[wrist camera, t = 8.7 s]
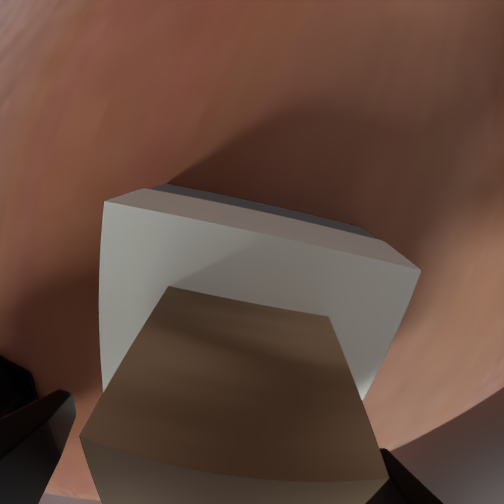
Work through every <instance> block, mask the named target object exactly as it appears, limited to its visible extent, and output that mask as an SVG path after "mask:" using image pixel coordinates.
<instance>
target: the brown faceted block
mask: <svg viewBox="0 0 504 504" xmlns="http://www.w3.org/2000/svg"><path fill="white" fill-rule="evenodd" d="M79 437H80V441H81V444H82V447H83V451H84V454H85V457H86V460H87V463H88V466H89V469H90V472H91V475H92V478H93V481H94V484H95V486H96V489H97V492H98V494H99V497H100V499H101V502H102V504H365V503H366V502H367V501H368V500H369V499H370V498H371V497H372V496H373V495H374V494H375V493H376V492H377V491H378V490H379V489H380V488H381V487H382V486H383V485H384V483H385V482H386V481H387V480H388V479H389V476H388V473H387V470H386V467H385V464H384V461H383V458H382V455H381V452H380V449H379V446H378V444H377V441H376V438H375V435H374V432H373V430H372V427H371V424H370V421H369V419H368V416H367V413H366V411H365V408H364V405H363V402H362V400H361V397H360V395H359V392H358V389H357V387H356V384H355V381H354V379H353V376H352V374H351V371H350V369H349V366H348V363H347V361H346V358H345V356H344V353H343V351H342V348H341V346H340V343H339V341H338V338H337V336H336V333H335V331H334V328H333V326H332V324H331V321H330V319H329V317H328V316H322V315H316V314H310V313H304V312H298V311H293V310H287V309H281V308H276V307H270V306H265V305H260V304H254V303H249V302H244V301H239V300H234V299H229V298H224V297H219V296H214V295H209V294H204V293H199V292H194V291H190V290H185V289H180V288H176V287H171V286H168V287H167V289H166V290H165V292H164V294H163V295H162V297H161V298H160V300H159V301H158V303H157V305H156V306H155V308H154V309H153V311H152V312H151V314H150V316H149V317H148V319H147V320H146V322H145V324H144V325H143V327H142V329H141V330H140V332H139V333H138V335H137V337H136V338H135V340H134V342H133V343H132V345H131V347H130V348H129V350H128V351H127V353H126V355H125V356H124V358H123V360H122V362H121V363H120V365H119V367H118V368H117V370H116V372H115V373H114V375H113V377H112V378H111V380H110V382H109V384H108V385H107V387H106V389H105V391H104V392H103V394H102V396H101V398H100V399H99V401H98V403H97V405H96V406H95V408H94V410H93V412H92V414H91V415H90V417H89V419H88V421H87V423H86V424H85V426H84V428H83V430H82V432H81V434H80V435H79Z"/></svg>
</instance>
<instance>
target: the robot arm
mask: <svg viewBox="0 0 504 504" xmlns="http://www.w3.org/2000/svg"><path fill="white" fill-rule="evenodd" d="M75 417H76V409H75V404H74V399H73V395H72V394H71V393H69V392H67V391H64V390H62V389H59V390H56V391H54V392H52V393H51V394H49V395H47V396H45V397H43V398H41V399H39V400H38V397H37V394H36V390H35V386H34V383H33V379H32V376H31V374H30V373H29V372H28V371H27V370H25V369H23V368H21V367H19V366H17V365H15V364H13V363H11V362H9V361H7V360H5V359H4V358H2V357H0V504H38V503H39V501H40V499H41V497H42V495H43V493H44V491H45V488H46V486H47V484H48V482H49V480H50V478H51V476H52V474H53V472H54V470H55V468H56V466H57V464H58V462H59V460H60V458H61V455H62V453H63V450H64V447H65V444H66V441H67V439H68V436H69V433H70V431H71V428H72V425H73V423H74V420H75ZM379 449H380V452H381V455H382V458H383V461H384V464H385V467H386V470H387V473H388V476H389V479H388V480H387V481H386V482H385V483H384V485H383V486H382V487H381V488H380V489H379V490H378V491H377V492H376V493H375V494H374V495H373V496H372V497H371V498H370V499H369V500H368V501H367V502H366V503H365V504H443V503H442V502H441V501H440V500H439V499H438V498H437V497H436V496H435V495H434V494H432V492H431V491H429V490H428V489H427V488H426V487H425V486H424V485H423V484H422V483H421V482H420V481H419V480H418V479H417V478H416V477H415V476H414V475H413V474H412V473H411V472H410V471H409V470H408V469H407V468H406V467H405V466H404V465H402V464H401V463H400V462H399V461H398V460H397V459H396V458H395V457H394V456H393V455H392V454H391V453H390V452H389V451H388V450H387V449H385V448H379Z"/></svg>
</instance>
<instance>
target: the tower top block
mask: <svg viewBox="0 0 504 504" xmlns="http://www.w3.org/2000/svg"><path fill="white" fill-rule="evenodd" d="M420 273H421V270H420V269H419V268H418V267H417V266H415V265H414V264H413V263H412V262H410V261H409V260H408V259H407V258H405V257H404V256H403V255H401V254H400V253H399V252H398V251H396V250H395V249H394V248H392V247H391V246H390V245H388V244H387V243H386V242H384V241H382V240H378V239H374V238H370V237H366V236H362V235H358V234H354V233H350V232H346V231H342V230H338V229H334V228H330V227H326V226H322V225H317V224H313V223H309V222H305V221H300V220H296V219H292V218H287V217H283V216H279V215H274V214H270V213H265V212H261V211H256V210H251V209H247V208H242V207H237V206H233V205H228V204H223V203H218V202H213V201H208V200H204V199H199V198H193V197H188V196H183V195H178V194H173V193H168V192H162V191H157V190H152V189H146V188H142V189H139V190H136V191H133V192H130V193H127V194H124V195H121V196H118V197H115V198H112V199H109V200H107V201H104V210H103V220H102V233H101V248H100V269H99V336H100V357H101V371H102V383H103V392H104V391H105V389H106V387H107V385H108V384H109V382H110V380H111V378H112V377H113V375H114V373H115V372H116V370H117V368H118V367H119V365H120V363H121V362H122V360H123V358H124V356H125V355H126V353H127V351H128V350H129V348H130V347H131V345H132V343H133V342H134V340H135V338H136V337H137V335H138V333H139V332H140V330H141V329H142V327H143V325H144V324H145V322H146V320H147V319H148V317H149V316H150V314H151V312H152V311H153V309H154V308H155V306H156V305H157V303H158V301H159V300H160V298H161V297H162V295H163V294H164V292H165V290H166V289H167V287H168V286H171V287H176V288H180V289H185V290H190V291H194V292H199V293H204V294H209V295H214V296H219V297H224V298H229V299H234V300H239V301H244V302H249V303H254V304H260V305H265V306H270V307H276V308H281V309H287V310H293V311H298V312H304V313H310V314H316V315H322V316H328V317H329V319H330V321H331V324H332V326H333V328H334V331H335V333H336V336H337V338H338V341H339V343H340V346H341V348H342V351H343V353H344V356H345V358H346V361H347V363H348V366H349V369H350V371H351V374H352V376H353V379H354V381H355V384H356V387H357V389H358V392H359V395H360V397H361V400H363V399H364V397H365V395H366V393H367V391H368V389H369V388H370V386H371V384H372V382H373V380H374V378H375V376H376V374H377V372H378V370H379V368H380V366H381V364H382V362H383V360H384V358H385V356H386V354H387V352H388V350H389V348H390V346H391V344H392V341H393V339H394V337H395V335H396V333H397V330H398V328H399V326H400V323H401V321H402V319H403V316H404V314H405V312H406V309H407V307H408V304H409V302H410V299H411V297H412V294H413V292H414V289H415V287H416V284H417V281H418V279H419V276H420Z"/></svg>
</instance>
